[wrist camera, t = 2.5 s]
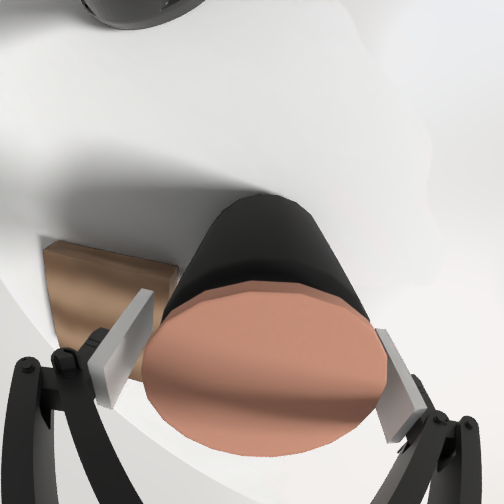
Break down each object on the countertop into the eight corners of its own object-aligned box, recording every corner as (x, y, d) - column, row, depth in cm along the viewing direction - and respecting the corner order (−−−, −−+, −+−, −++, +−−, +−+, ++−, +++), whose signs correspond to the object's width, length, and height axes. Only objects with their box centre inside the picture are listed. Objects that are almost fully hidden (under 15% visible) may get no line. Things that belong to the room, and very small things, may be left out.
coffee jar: (201, 286, 30) (145, 436, 13) (218, 180, 26) (138, 259, 9) (304, 306, 30) (333, 462, 13) (334, 206, 26) (432, 314, 10)
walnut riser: (58, 240, 29) (43, 249, 26) (178, 266, 29) (169, 279, 26) (71, 342, 34) (61, 355, 31) (172, 372, 34) (166, 388, 32)
